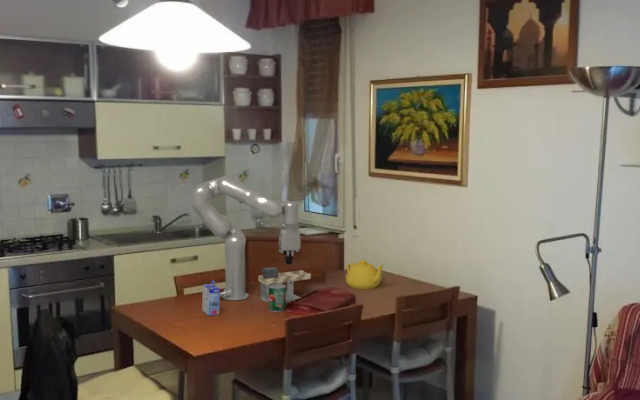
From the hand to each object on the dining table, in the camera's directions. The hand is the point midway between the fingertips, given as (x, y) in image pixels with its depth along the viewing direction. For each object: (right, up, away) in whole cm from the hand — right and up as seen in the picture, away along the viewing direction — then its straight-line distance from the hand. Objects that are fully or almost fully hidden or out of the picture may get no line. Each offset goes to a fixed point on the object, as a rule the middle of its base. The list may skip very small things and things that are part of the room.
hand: (288, 263), depth 319 cm
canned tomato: (-4, -19, -20) cm, 28 cm away
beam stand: (-5, -17, -1) cm, 18 cm away
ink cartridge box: (-33, -20, -26) cm, 47 cm away
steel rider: (-9, -7, -5) cm, 12 cm away
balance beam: (-2, -8, -1) cm, 8 cm away
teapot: (+39, -15, +25) cm, 49 cm away
